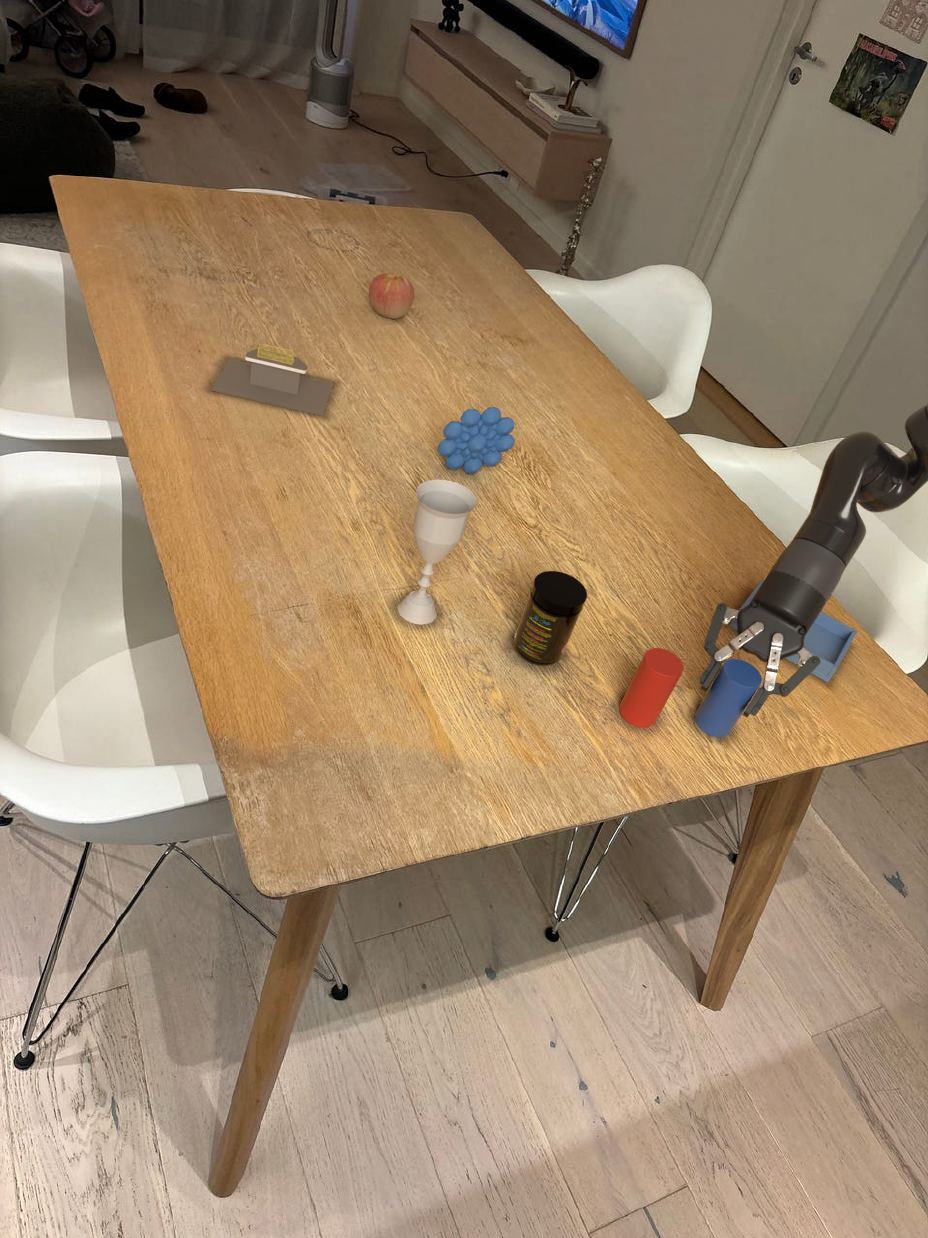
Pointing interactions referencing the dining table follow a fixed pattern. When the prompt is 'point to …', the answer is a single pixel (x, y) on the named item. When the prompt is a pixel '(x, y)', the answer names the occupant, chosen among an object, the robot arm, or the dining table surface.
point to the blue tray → (820, 641)
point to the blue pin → (727, 697)
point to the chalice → (435, 538)
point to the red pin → (651, 687)
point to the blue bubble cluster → (476, 440)
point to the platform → (274, 381)
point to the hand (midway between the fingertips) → (724, 702)
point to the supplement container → (549, 617)
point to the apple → (391, 295)
